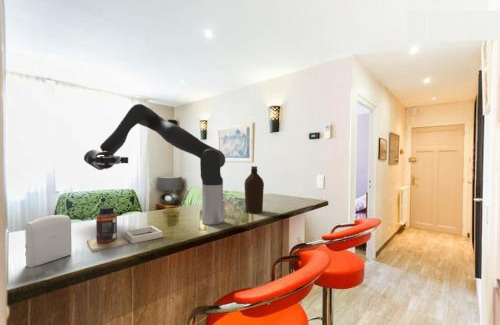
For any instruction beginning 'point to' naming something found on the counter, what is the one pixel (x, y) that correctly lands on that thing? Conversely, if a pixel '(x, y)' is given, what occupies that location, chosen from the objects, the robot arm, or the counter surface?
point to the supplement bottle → (106, 225)
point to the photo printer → (47, 239)
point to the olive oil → (254, 192)
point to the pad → (106, 244)
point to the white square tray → (133, 239)
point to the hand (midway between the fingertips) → (111, 160)
